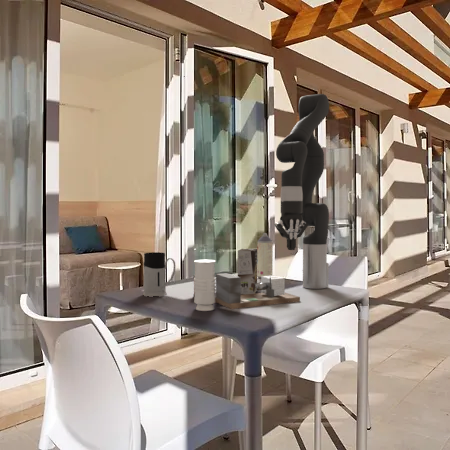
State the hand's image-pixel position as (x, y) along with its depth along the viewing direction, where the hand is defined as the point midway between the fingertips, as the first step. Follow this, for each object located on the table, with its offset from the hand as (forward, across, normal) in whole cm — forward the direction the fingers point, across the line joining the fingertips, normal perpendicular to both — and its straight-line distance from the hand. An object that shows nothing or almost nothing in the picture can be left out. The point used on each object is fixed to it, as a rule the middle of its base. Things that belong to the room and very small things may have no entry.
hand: (291, 249), depth 157 cm
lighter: (+17, +26, -15) cm, 35 cm away
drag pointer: (+15, +11, +4) cm, 19 cm away
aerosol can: (+17, -16, -44) cm, 50 cm away
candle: (+17, +34, +2) cm, 38 cm away
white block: (+15, +9, 0) cm, 17 cm away
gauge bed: (+17, +14, 0) cm, 22 cm away
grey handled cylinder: (+17, +40, -25) cm, 50 cm away
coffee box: (+17, +8, -16) cm, 25 cm away
